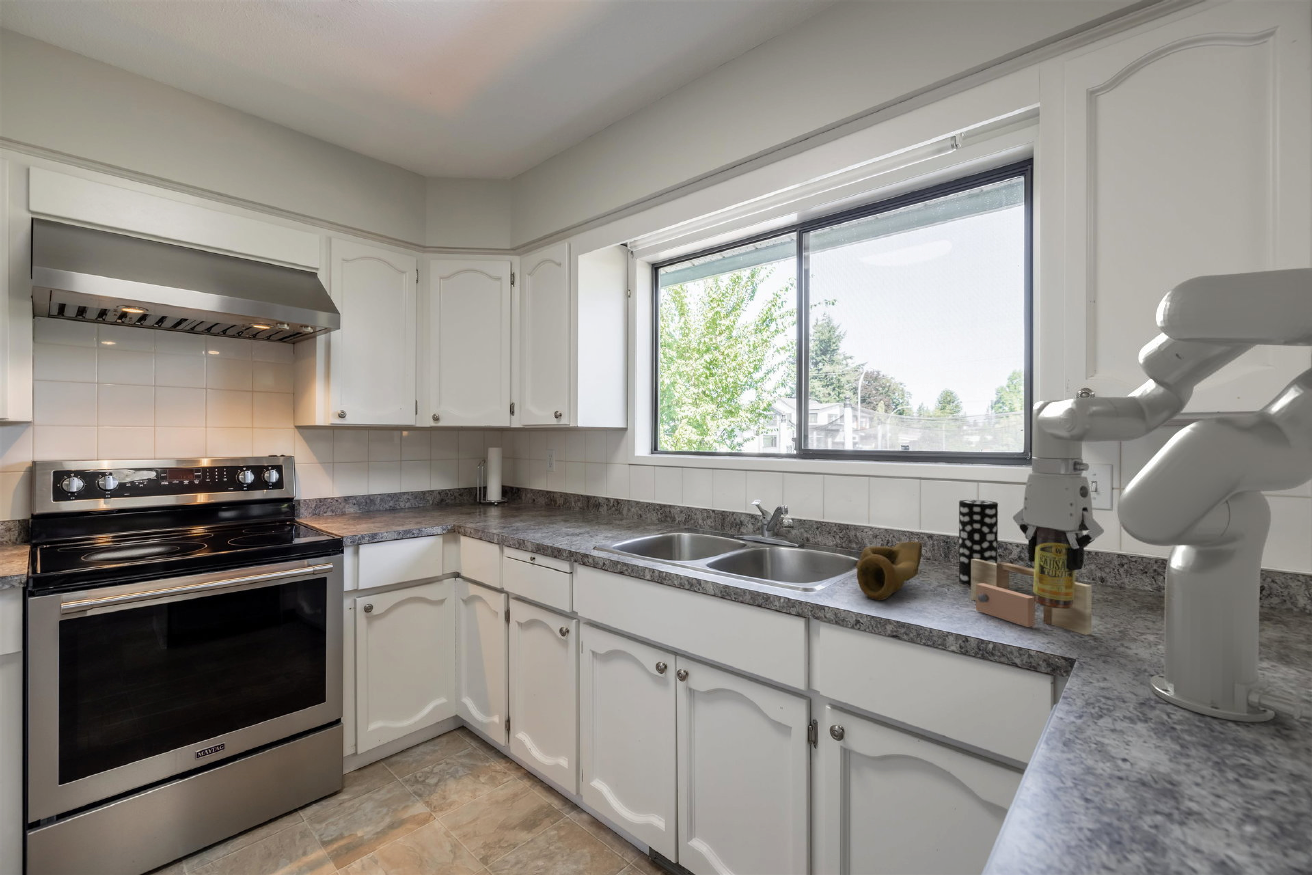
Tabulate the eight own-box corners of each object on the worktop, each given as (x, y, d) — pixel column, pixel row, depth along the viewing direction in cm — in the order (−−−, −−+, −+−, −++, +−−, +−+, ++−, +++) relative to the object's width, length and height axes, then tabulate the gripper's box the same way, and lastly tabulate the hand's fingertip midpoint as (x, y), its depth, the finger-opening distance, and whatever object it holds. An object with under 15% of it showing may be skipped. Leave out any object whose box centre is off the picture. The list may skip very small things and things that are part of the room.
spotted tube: (996, 589, 137) (996, 505, 136) (957, 584, 141) (957, 502, 141) (998, 581, 144) (998, 501, 143) (960, 577, 148) (960, 499, 148)
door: (1034, 625, 111) (1035, 597, 111) (1023, 627, 110) (1024, 599, 110) (983, 609, 121) (983, 582, 121) (972, 610, 120) (972, 584, 120)
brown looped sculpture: (963, 560, 134) (903, 556, 124) (941, 609, 137) (880, 609, 126) (900, 525, 150) (841, 518, 139) (882, 569, 153) (823, 566, 142)
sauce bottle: (1034, 607, 105) (1035, 498, 105) (1031, 597, 111) (1032, 494, 111) (1079, 612, 102) (1080, 500, 102) (1072, 602, 108) (1074, 496, 108)
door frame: (1092, 633, 107) (1092, 582, 107) (1085, 635, 107) (1085, 583, 106) (976, 598, 130) (976, 555, 129) (970, 599, 129) (970, 556, 129)
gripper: (1122, 470, 99) (1120, 574, 100) (1024, 463, 115) (1023, 553, 116) (1094, 472, 97) (1092, 579, 97) (998, 465, 113) (997, 556, 113)
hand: (1054, 564), depth 106 cm, fingers closed on sauce bottle, 6 cm apart
